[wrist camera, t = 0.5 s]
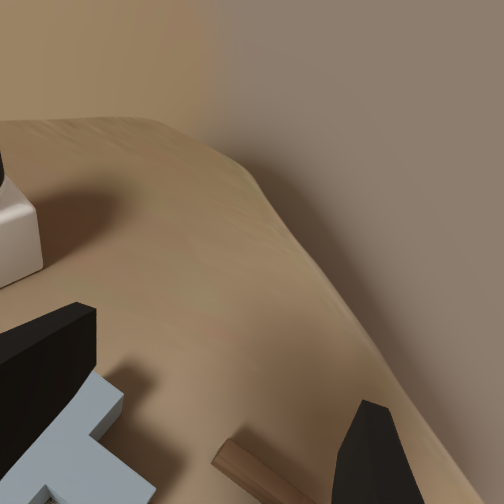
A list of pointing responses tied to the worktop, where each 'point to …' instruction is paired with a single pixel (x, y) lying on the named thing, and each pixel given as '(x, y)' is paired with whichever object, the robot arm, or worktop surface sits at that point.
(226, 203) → the worktop surface
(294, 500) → the walnut cradle
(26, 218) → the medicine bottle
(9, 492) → the t block
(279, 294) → the worktop surface
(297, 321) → the worktop surface
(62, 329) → the robot arm
